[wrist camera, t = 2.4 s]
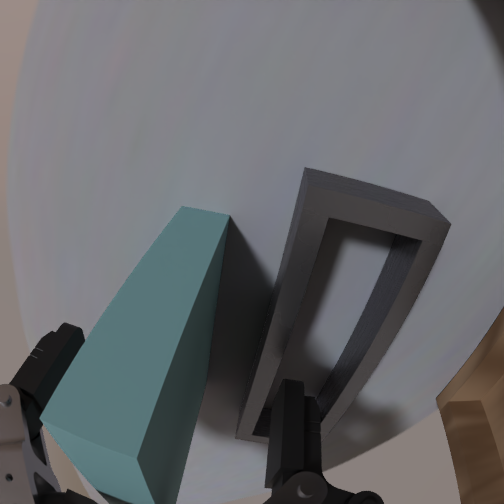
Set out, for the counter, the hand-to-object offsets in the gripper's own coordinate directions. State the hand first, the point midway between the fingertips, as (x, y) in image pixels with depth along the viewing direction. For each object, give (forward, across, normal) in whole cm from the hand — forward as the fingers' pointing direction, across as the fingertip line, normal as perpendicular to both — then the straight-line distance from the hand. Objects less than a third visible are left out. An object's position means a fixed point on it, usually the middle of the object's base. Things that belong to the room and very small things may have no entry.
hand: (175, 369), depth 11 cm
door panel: (+3, 0, 0) cm, 3 cm away
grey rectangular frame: (+3, -6, 0) cm, 6 cm away
